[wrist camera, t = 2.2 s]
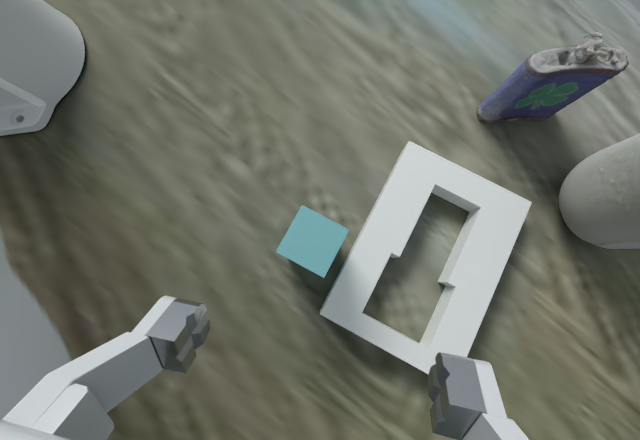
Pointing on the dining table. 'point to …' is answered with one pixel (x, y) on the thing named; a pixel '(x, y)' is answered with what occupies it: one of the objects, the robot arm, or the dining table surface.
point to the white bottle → (605, 196)
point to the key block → (312, 241)
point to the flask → (552, 81)
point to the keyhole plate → (461, 267)
